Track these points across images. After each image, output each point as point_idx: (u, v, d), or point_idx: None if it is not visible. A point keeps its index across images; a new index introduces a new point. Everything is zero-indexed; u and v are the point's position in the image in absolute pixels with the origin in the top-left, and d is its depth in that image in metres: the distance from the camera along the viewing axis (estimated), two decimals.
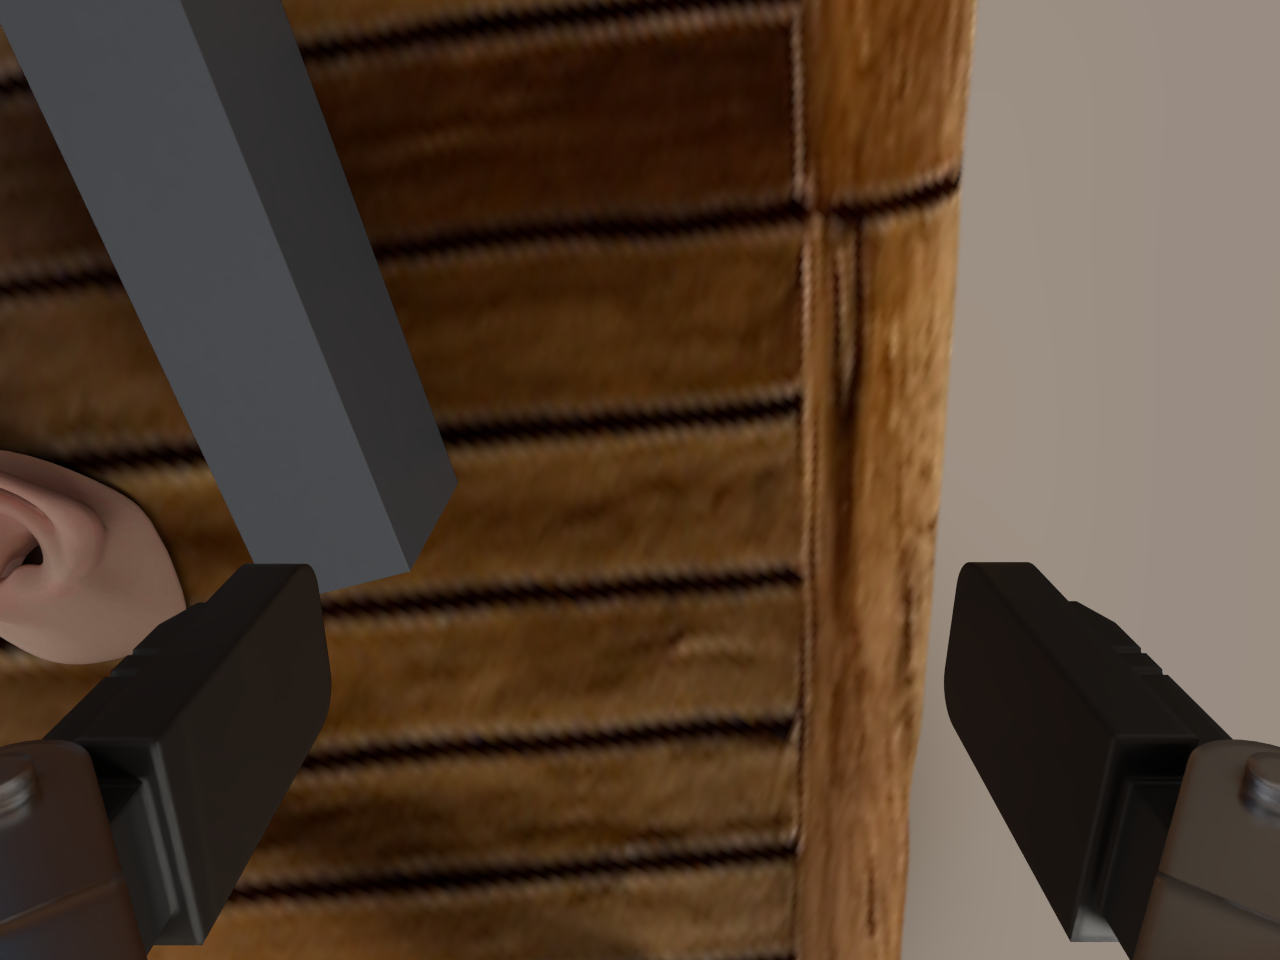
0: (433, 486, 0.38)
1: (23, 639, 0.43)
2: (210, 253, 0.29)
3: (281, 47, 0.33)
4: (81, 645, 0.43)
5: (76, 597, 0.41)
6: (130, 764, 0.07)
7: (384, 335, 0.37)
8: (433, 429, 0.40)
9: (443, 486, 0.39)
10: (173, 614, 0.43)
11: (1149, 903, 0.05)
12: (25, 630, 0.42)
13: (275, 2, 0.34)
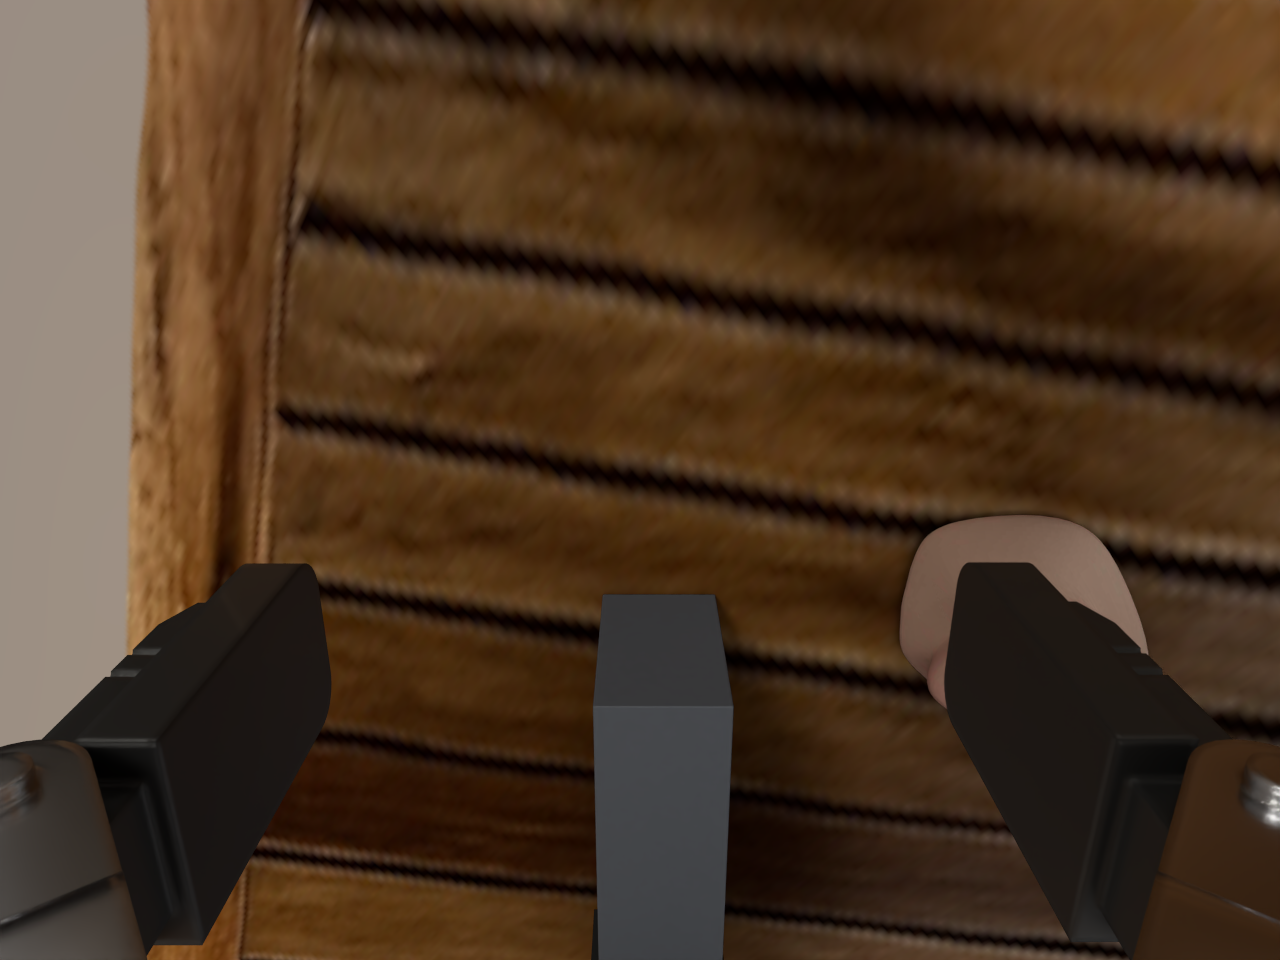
0: None
1: (1088, 571, 0.41)
2: (649, 948, 0.39)
3: None
4: (1035, 554, 0.41)
5: None
6: (130, 764, 0.07)
7: None
8: None
9: None
10: (929, 553, 0.41)
11: (1149, 903, 0.05)
12: (1074, 588, 0.41)
13: None
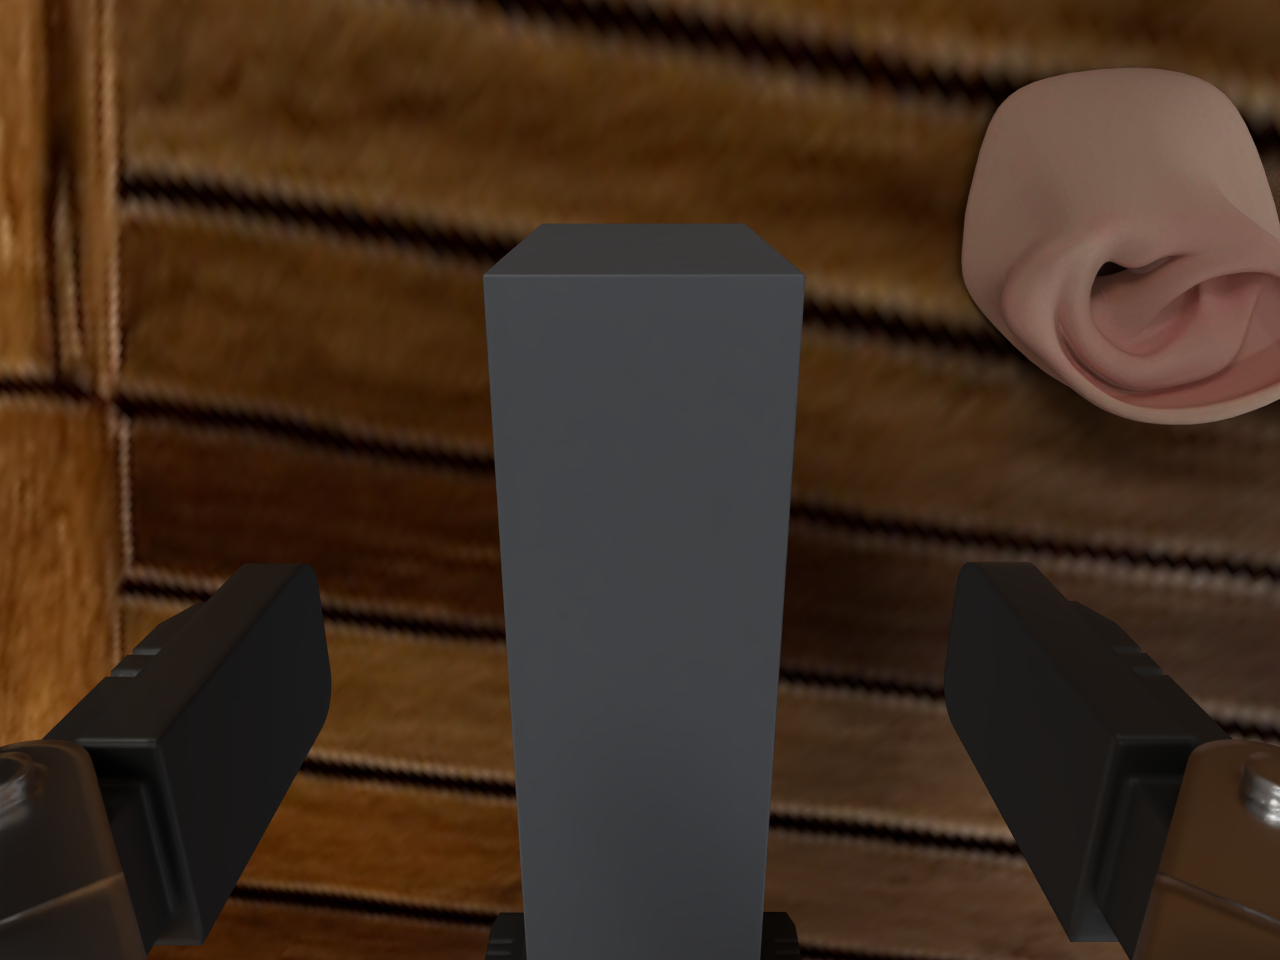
0: None
1: (1222, 146, 0.31)
2: (621, 851, 0.20)
3: None
4: (1152, 115, 0.30)
5: (1094, 205, 0.30)
6: (130, 764, 0.07)
7: None
8: None
9: None
10: (1007, 121, 0.31)
11: (1149, 903, 0.05)
12: (1203, 165, 0.30)
13: None
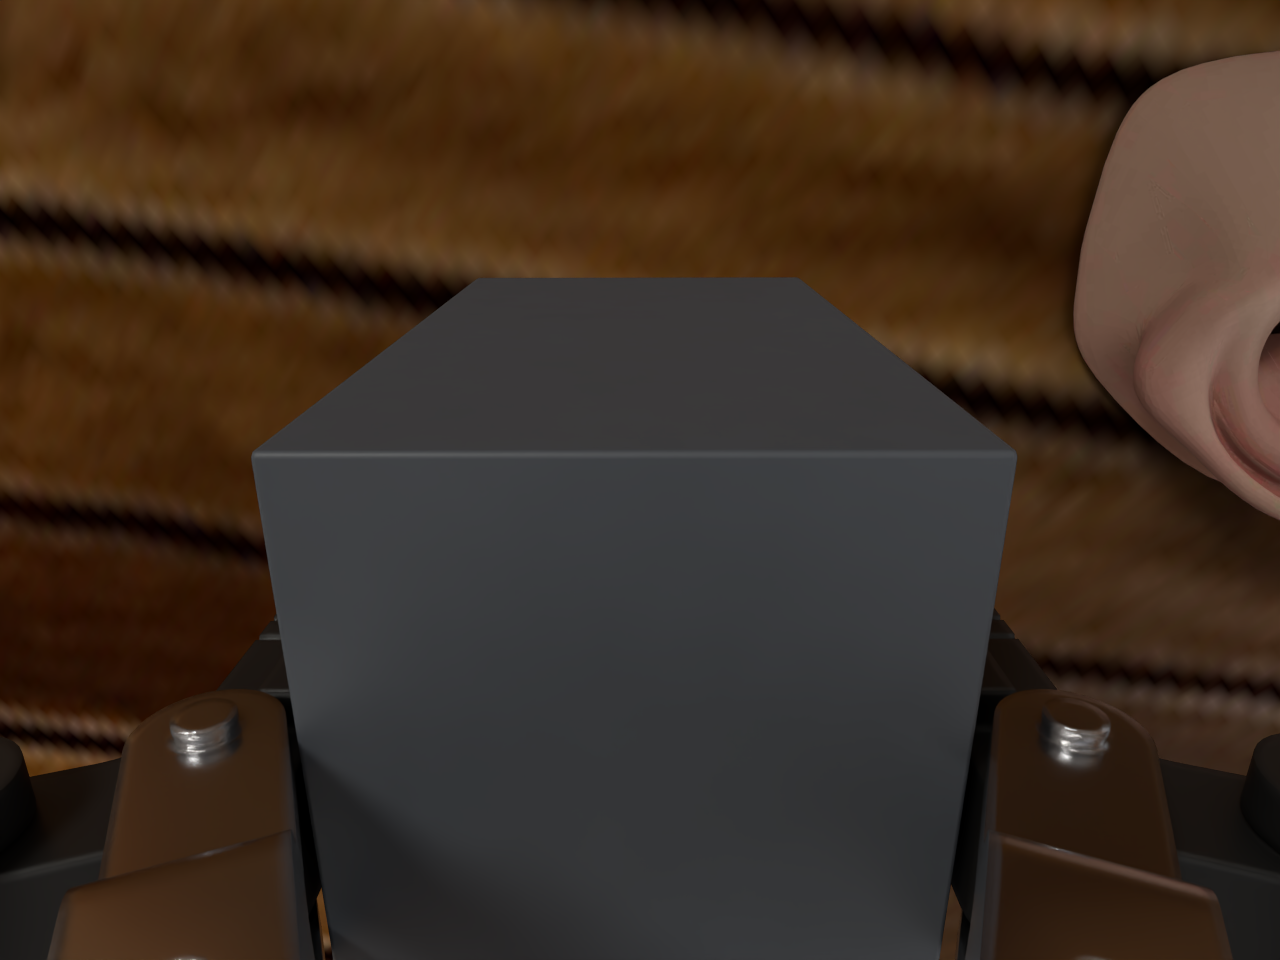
0: None
1: None
2: None
3: None
4: None
5: (1274, 240, 0.21)
6: None
7: None
8: None
9: None
10: (1147, 124, 0.22)
11: (988, 864, 0.05)
12: None
13: None
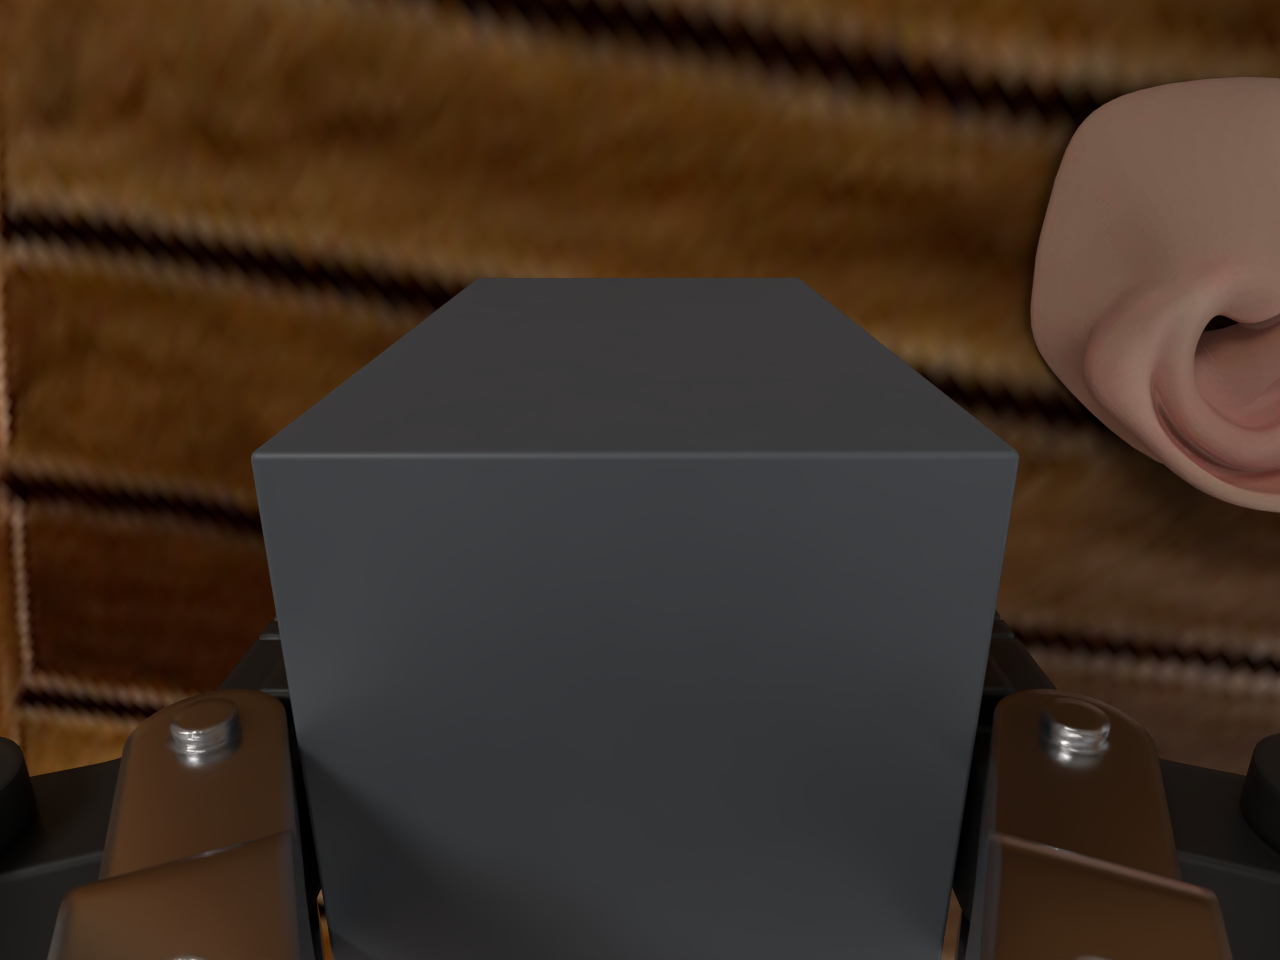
0: None
1: None
2: None
3: None
4: (1273, 135, 0.24)
5: (1203, 247, 0.24)
6: None
7: None
8: None
9: None
10: (1091, 144, 0.25)
11: (988, 864, 0.05)
12: None
13: None
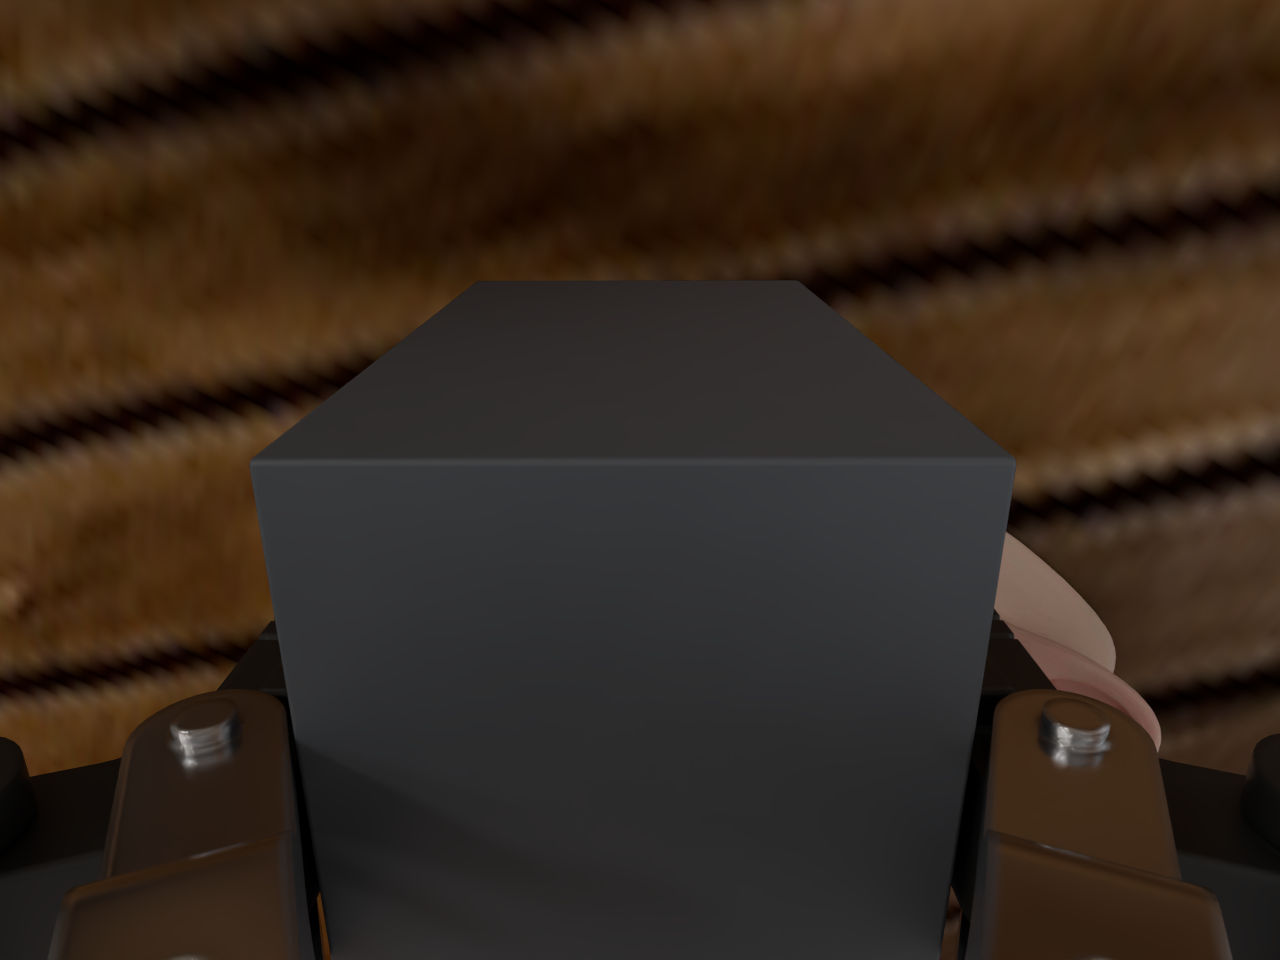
0: None
1: None
2: None
3: None
4: None
5: None
6: None
7: None
8: None
9: None
10: None
11: (988, 864, 0.05)
12: None
13: None
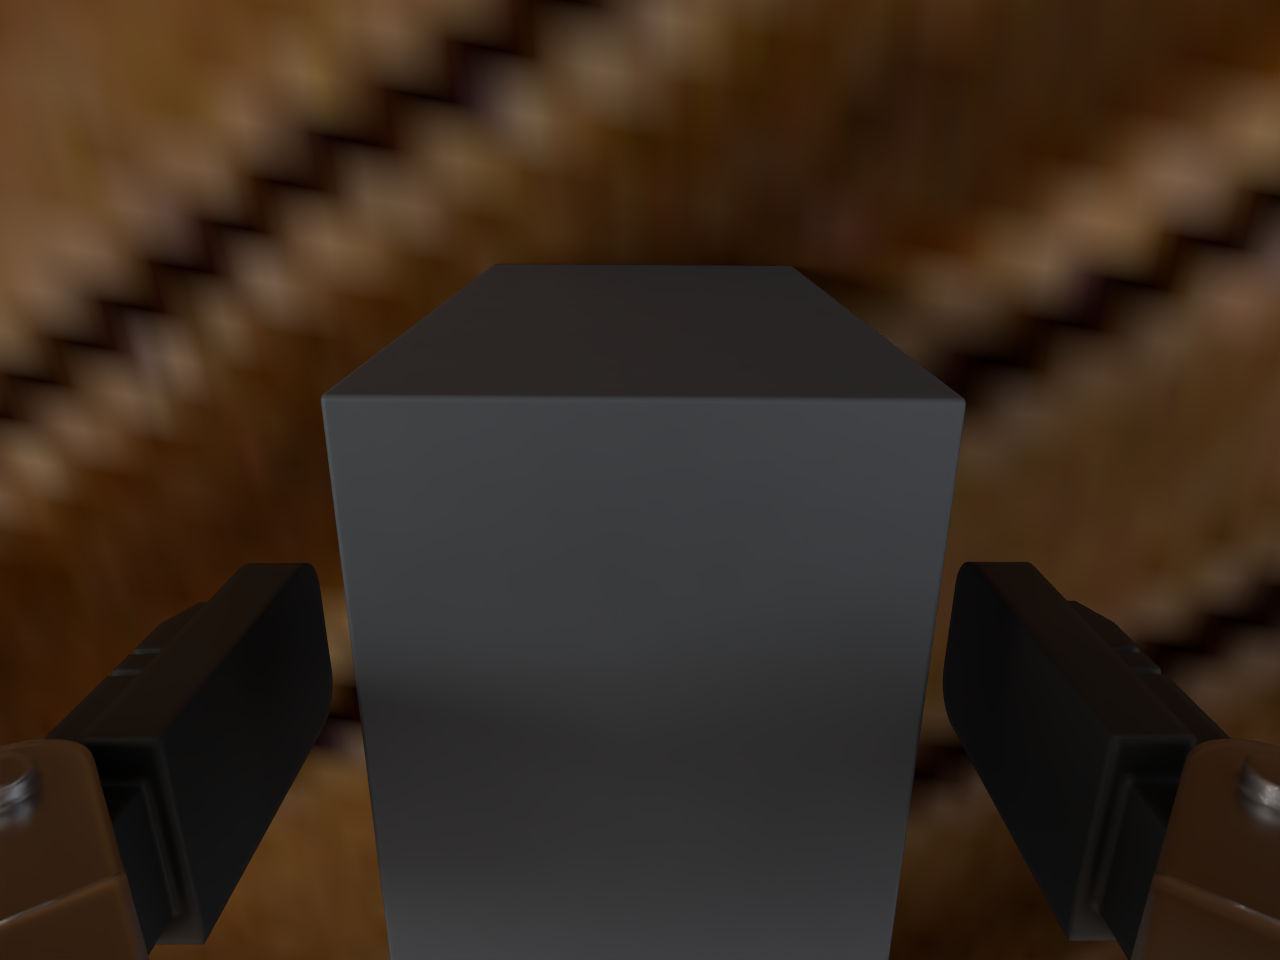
0: None
1: None
2: None
3: None
4: None
5: None
6: (132, 763, 0.07)
7: None
8: None
9: None
10: None
11: (1147, 902, 0.05)
12: None
13: None
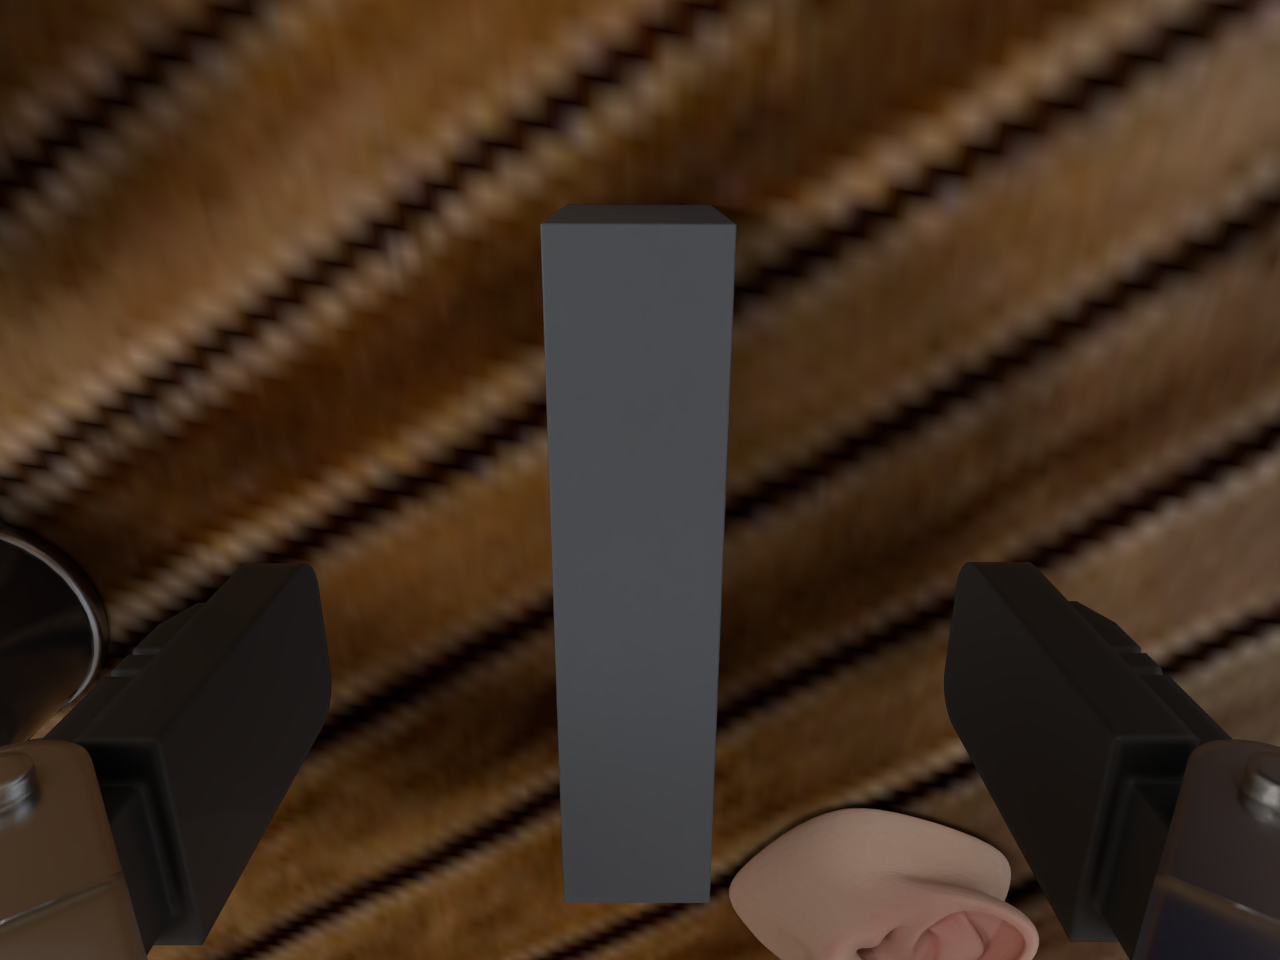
0: None
1: (870, 844, 0.43)
2: (622, 620, 0.29)
3: None
4: (813, 864, 0.43)
5: (820, 940, 0.43)
6: (130, 764, 0.07)
7: None
8: None
9: None
10: (739, 906, 0.44)
11: (1149, 903, 0.05)
12: (867, 868, 0.42)
13: None
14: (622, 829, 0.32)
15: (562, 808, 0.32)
